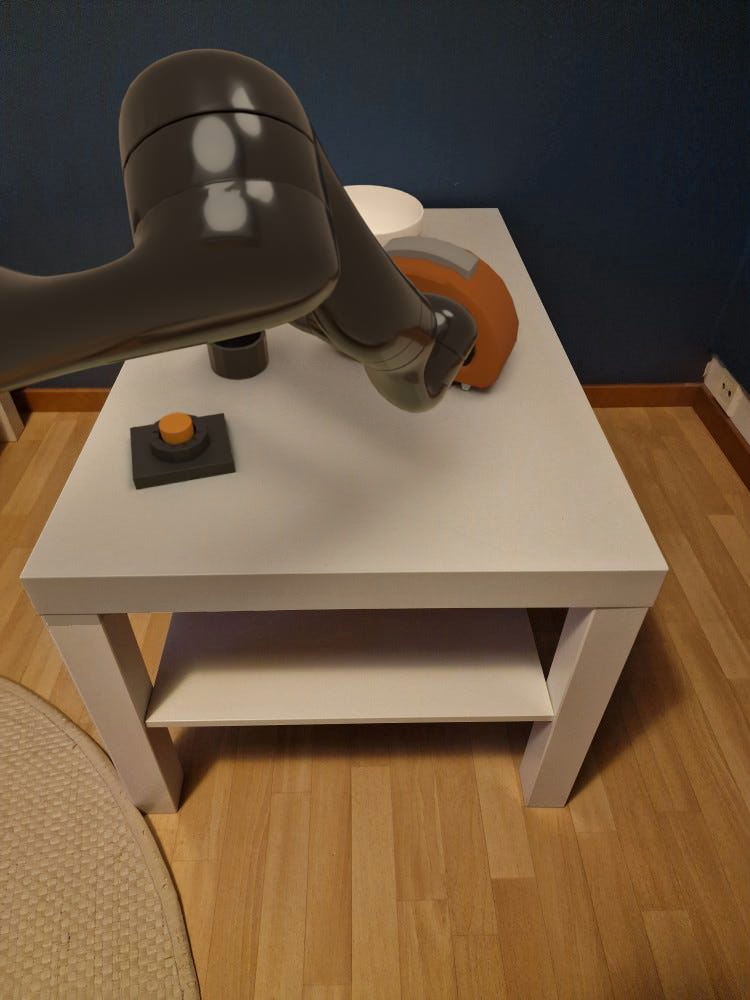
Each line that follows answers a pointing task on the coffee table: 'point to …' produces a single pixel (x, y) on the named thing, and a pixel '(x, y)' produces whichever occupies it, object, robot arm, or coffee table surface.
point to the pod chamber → (239, 356)
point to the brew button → (176, 428)
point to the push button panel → (181, 453)
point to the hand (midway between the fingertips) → (204, 235)
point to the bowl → (387, 211)
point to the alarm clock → (464, 299)
